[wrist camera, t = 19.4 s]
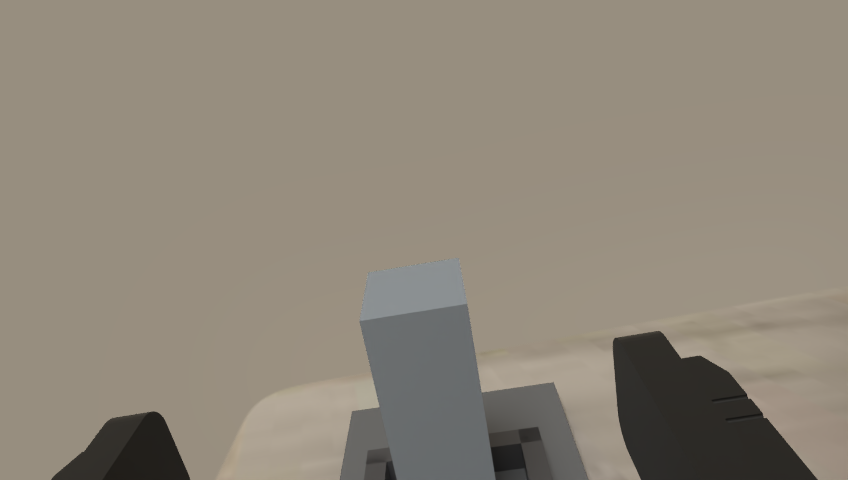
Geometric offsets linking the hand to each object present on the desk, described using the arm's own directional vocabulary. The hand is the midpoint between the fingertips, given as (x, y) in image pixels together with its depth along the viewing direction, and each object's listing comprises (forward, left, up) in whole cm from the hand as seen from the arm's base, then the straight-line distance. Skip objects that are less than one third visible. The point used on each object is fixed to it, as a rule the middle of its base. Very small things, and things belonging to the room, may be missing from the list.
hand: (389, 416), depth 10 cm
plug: (0, -11, -15) cm, 18 cm away
